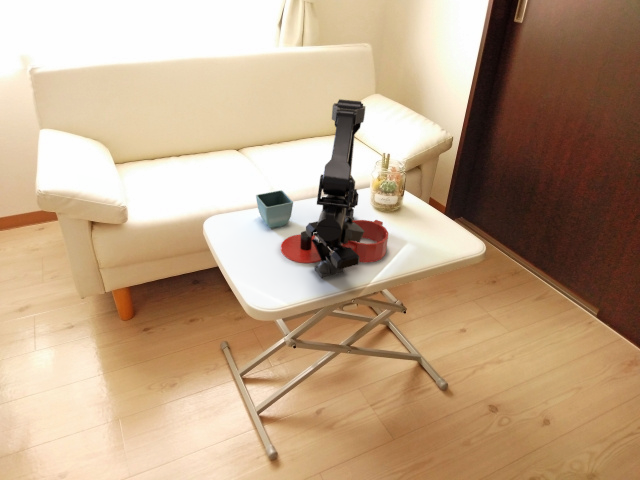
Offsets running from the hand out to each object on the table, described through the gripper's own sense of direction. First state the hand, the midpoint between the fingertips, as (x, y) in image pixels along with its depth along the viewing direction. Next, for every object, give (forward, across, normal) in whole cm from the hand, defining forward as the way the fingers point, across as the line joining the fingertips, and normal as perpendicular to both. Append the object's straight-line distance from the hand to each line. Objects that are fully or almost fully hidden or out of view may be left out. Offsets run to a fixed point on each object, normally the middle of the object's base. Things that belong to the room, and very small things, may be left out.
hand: (329, 269), depth 120 cm
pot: (+1, +6, -14) cm, 15 cm away
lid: (0, +12, +1) cm, 12 cm away
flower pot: (+1, +29, +4) cm, 29 cm away
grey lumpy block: (+1, 0, 0) cm, 1 cm away
